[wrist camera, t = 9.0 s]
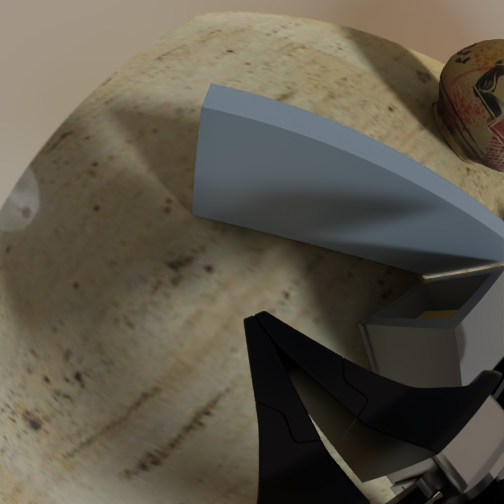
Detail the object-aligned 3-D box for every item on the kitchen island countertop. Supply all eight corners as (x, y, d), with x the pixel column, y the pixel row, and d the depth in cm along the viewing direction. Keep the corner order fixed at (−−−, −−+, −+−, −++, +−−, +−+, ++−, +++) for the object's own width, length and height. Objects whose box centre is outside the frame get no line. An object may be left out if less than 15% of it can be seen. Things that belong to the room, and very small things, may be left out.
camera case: (441, 349, 19) (517, 354, 11) (380, 401, 17) (463, 432, 9) (424, 279, 20) (507, 264, 12) (357, 323, 18) (454, 329, 10)
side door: (427, 276, 20) (528, 257, 10) (191, 214, 16) (201, 106, 7) (428, 264, 20) (527, 241, 10) (195, 199, 16) (211, 83, 7)
